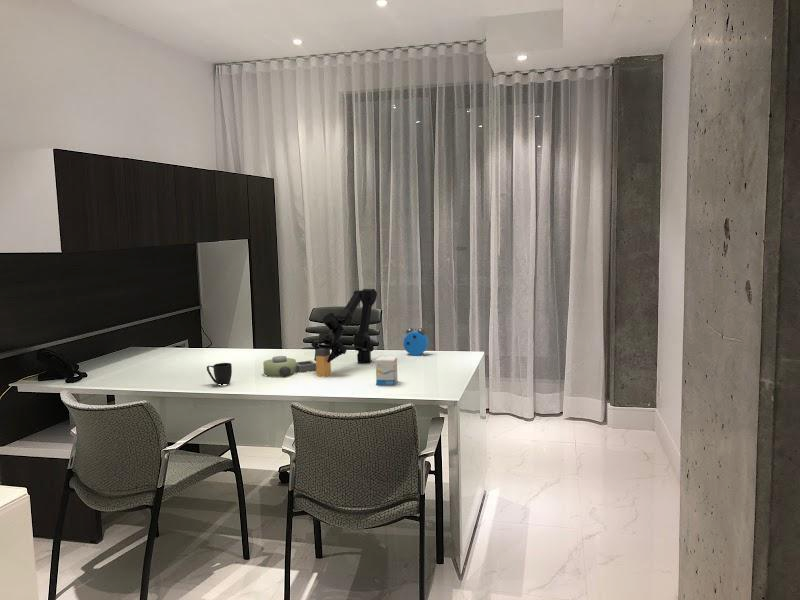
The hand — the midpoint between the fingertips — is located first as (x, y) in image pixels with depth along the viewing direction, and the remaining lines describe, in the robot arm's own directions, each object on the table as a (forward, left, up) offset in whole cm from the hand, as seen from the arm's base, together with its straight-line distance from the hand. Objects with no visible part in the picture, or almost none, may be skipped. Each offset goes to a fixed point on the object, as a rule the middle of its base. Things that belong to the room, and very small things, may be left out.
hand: (321, 361), depth 315 cm
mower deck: (+19, -8, -7) cm, 22 cm away
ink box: (-35, +13, -7) cm, 38 cm away
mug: (+44, +18, -7) cm, 49 cm away
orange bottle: (-1, -1, -7) cm, 7 cm away
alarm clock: (-40, -52, -7) cm, 66 cm away
